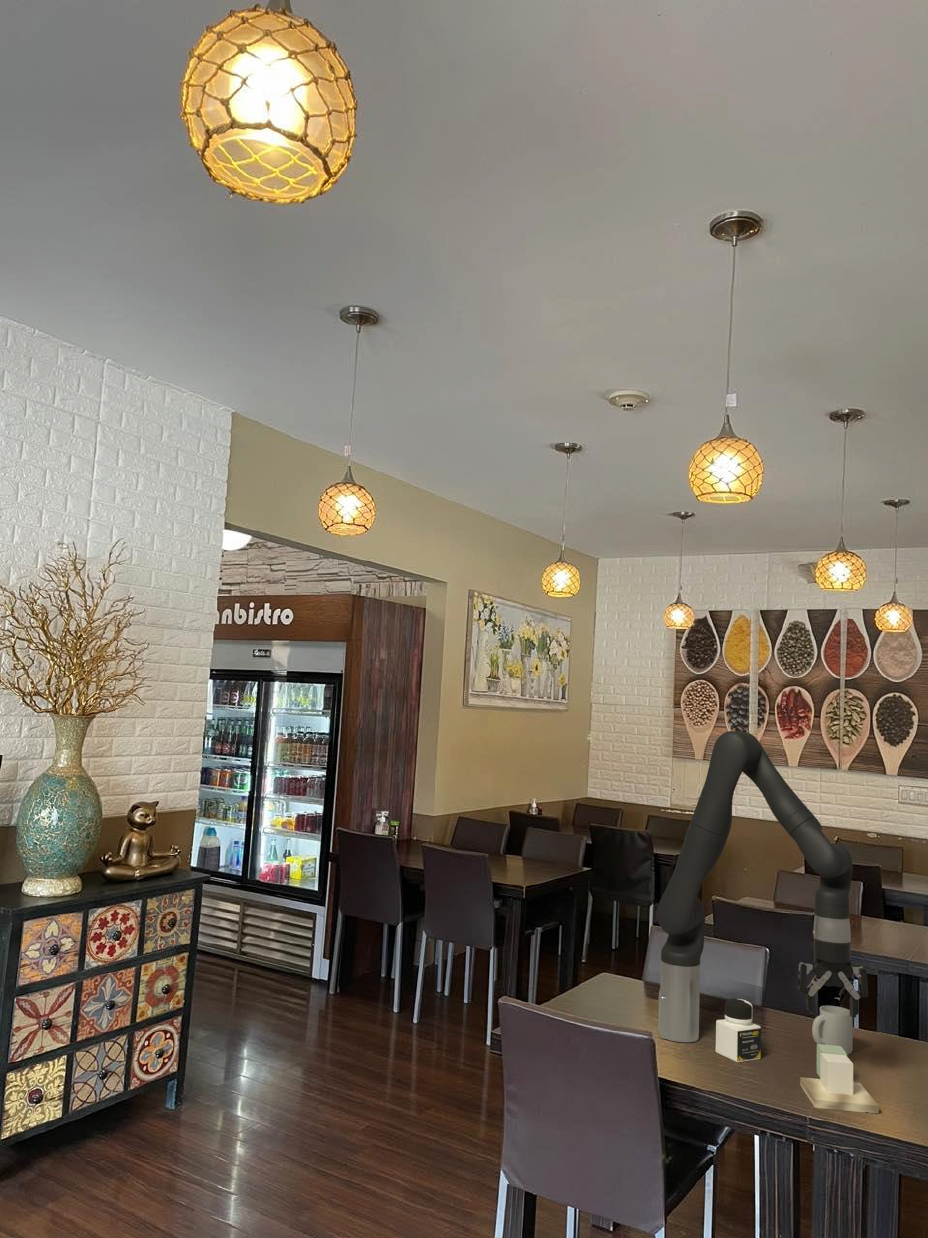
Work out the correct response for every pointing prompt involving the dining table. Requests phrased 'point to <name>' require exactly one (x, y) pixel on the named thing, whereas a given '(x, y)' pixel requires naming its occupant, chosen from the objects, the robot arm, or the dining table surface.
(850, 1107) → the beech board
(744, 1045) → the medicine bottle
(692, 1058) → the dining table surface
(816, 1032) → the cup
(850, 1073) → the cream block
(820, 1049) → the sage block
